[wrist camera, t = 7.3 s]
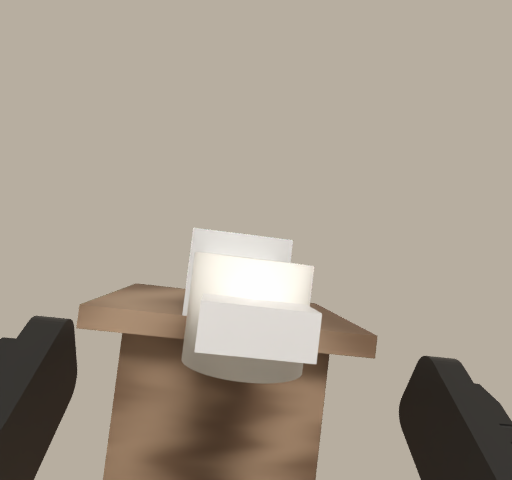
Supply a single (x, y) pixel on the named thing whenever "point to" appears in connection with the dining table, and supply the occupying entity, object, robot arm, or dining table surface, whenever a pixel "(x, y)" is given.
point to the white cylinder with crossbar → (248, 309)
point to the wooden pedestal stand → (207, 398)
